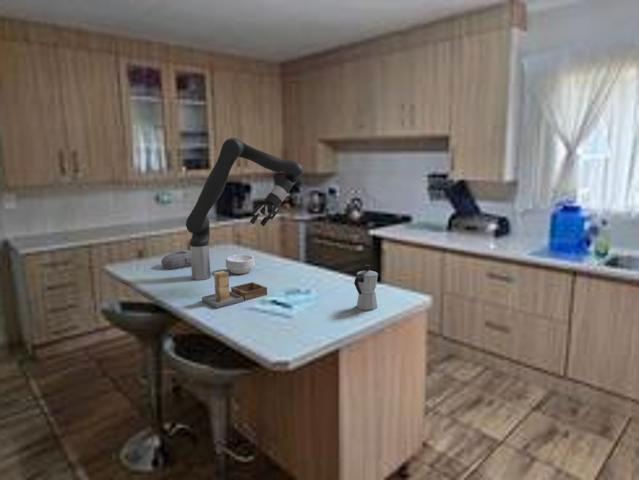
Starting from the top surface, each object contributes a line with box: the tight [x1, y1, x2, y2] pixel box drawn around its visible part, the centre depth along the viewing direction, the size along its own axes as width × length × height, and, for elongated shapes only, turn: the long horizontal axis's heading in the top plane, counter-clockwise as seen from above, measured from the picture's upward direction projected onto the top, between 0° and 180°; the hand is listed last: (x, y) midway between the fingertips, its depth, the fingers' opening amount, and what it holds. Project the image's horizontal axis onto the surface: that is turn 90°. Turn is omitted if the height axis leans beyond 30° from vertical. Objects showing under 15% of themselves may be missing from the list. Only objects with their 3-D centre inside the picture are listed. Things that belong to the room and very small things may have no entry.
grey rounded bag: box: [160, 250, 191, 270], centre depth 256 cm, size 15×8×20 cm
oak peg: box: [213, 270, 230, 302], centre depth 195 cm, size 4×4×12 cm
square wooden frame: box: [230, 281, 268, 302], centre depth 205 cm, size 12×12×4 cm
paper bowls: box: [225, 254, 256, 275], centre depth 243 cm, size 15×15×8 cm
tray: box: [201, 290, 245, 310], centre depth 196 cm, size 13×13×2 cm
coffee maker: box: [353, 264, 379, 311], centre depth 185 cm, size 15×9×18 cm, turn 141°
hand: (256, 223), depth 210 cm, fingers open, 8 cm apart
